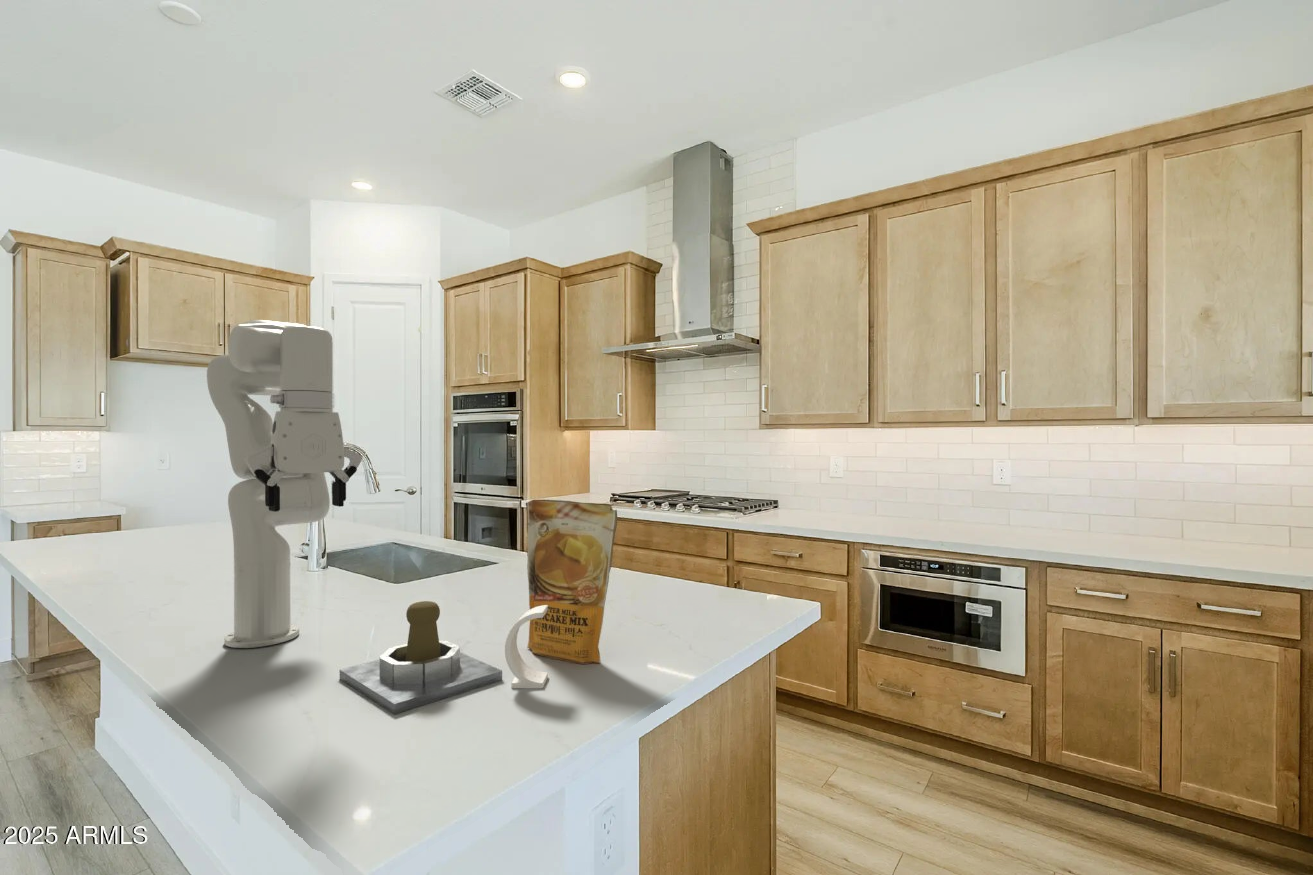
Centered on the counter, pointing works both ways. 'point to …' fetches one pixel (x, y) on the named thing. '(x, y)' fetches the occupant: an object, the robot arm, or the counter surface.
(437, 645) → the cork
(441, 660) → the plate
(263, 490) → the robot arm
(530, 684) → the headphone stand
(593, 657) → the pancake mix bag
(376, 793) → the counter surface
